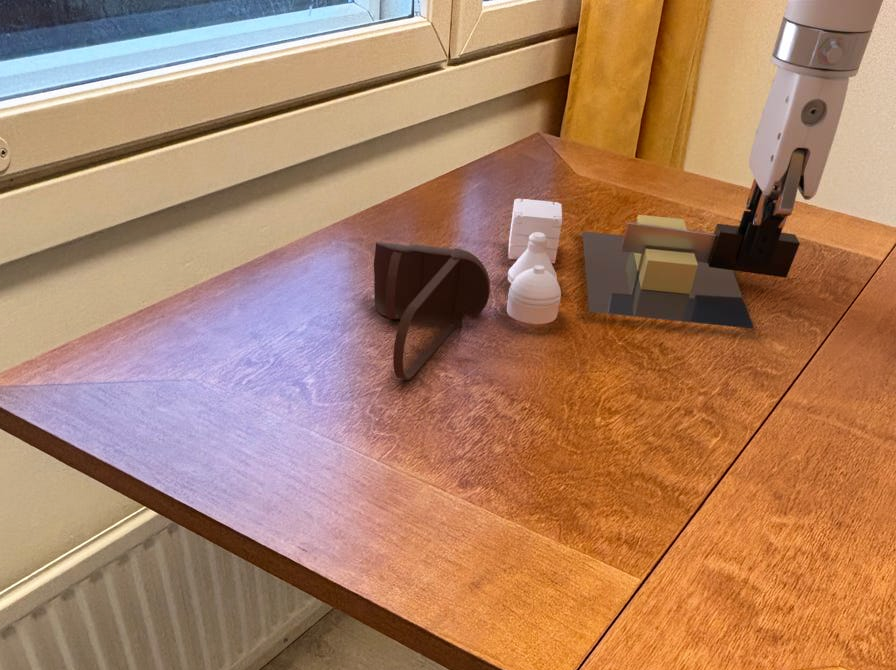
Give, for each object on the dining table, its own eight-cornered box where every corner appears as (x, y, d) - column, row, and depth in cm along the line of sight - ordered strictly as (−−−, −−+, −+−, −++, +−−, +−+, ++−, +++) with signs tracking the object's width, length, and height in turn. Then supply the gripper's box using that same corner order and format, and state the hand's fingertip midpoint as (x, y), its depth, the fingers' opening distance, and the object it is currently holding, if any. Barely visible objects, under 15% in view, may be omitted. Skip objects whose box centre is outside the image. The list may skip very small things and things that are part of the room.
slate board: (720, 253, 101) (723, 244, 101) (751, 338, 86) (754, 328, 86) (580, 239, 102) (582, 230, 101) (586, 321, 87) (588, 311, 86)
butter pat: (686, 282, 92) (694, 253, 90) (689, 294, 90) (698, 265, 88) (638, 277, 93) (645, 248, 91) (640, 289, 91) (647, 259, 88)
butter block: (676, 246, 99) (684, 218, 97) (684, 276, 94) (692, 247, 92) (631, 242, 99) (638, 214, 97) (637, 271, 94) (644, 242, 92)
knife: (782, 268, 92) (795, 234, 90) (786, 278, 91) (800, 243, 88) (620, 245, 92) (629, 210, 90) (621, 255, 91) (630, 219, 88)
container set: (506, 249, 98) (513, 197, 95) (553, 254, 98) (562, 201, 94) (502, 331, 84) (510, 273, 80) (558, 336, 84) (568, 279, 80)
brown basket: (373, 297, 88) (375, 225, 83) (490, 313, 87) (498, 241, 82) (327, 386, 75) (326, 307, 70) (463, 406, 74) (471, 327, 69)
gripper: (887, 75, 72) (802, 297, 85) (840, 32, 84) (772, 233, 97) (794, 66, 72) (724, 288, 85) (760, 24, 84) (703, 226, 97)
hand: (750, 257), depth 91 cm, fingers closed on knife, 2 cm apart
